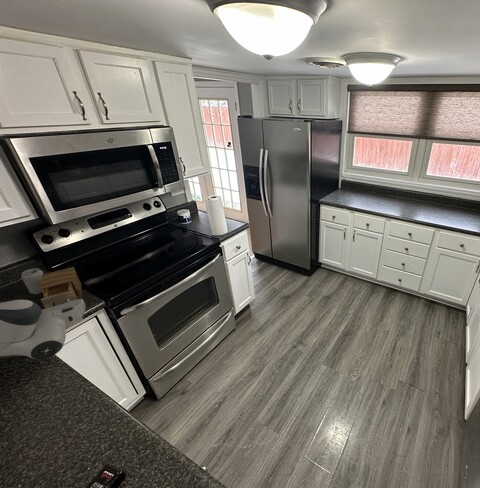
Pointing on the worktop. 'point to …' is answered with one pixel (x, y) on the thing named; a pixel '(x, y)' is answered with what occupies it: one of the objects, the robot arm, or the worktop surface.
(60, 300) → the drawer
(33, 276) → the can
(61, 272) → the storage box
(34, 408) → the worktop surface
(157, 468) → the worktop surface
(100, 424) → the worktop surface
